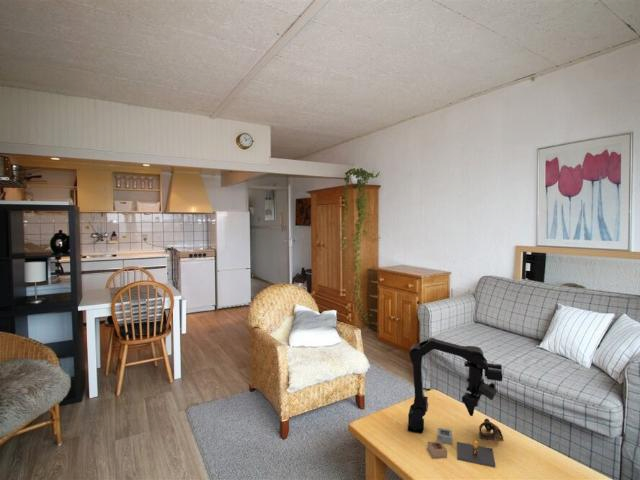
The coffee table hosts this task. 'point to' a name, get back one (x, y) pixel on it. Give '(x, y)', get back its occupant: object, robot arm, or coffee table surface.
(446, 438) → the grey square frame
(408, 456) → the coffee table surface
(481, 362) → the robot arm
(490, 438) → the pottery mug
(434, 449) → the brown hollow square block
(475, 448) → the keeper
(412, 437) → the coffee table surface
